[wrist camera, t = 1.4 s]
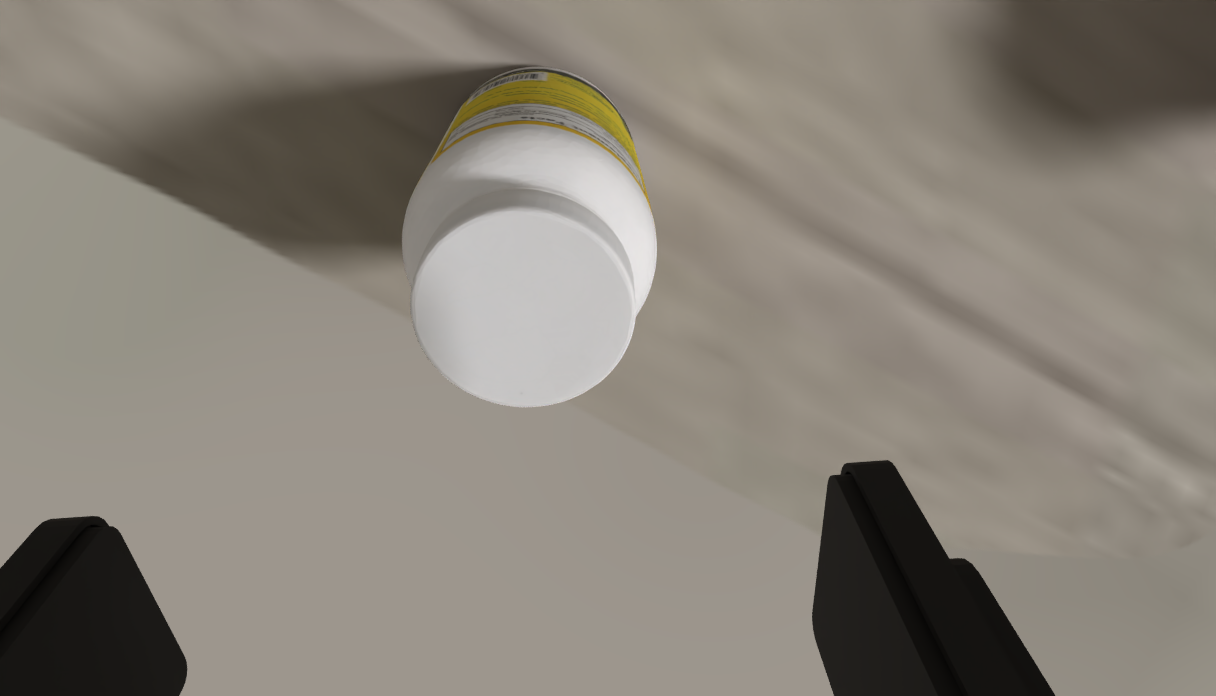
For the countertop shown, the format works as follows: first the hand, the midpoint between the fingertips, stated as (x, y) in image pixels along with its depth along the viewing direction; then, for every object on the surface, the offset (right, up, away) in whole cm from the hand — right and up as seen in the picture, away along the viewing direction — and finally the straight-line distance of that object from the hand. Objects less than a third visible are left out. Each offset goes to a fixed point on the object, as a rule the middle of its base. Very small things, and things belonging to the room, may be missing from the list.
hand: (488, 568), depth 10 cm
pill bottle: (-1, +9, +15) cm, 18 cm away
